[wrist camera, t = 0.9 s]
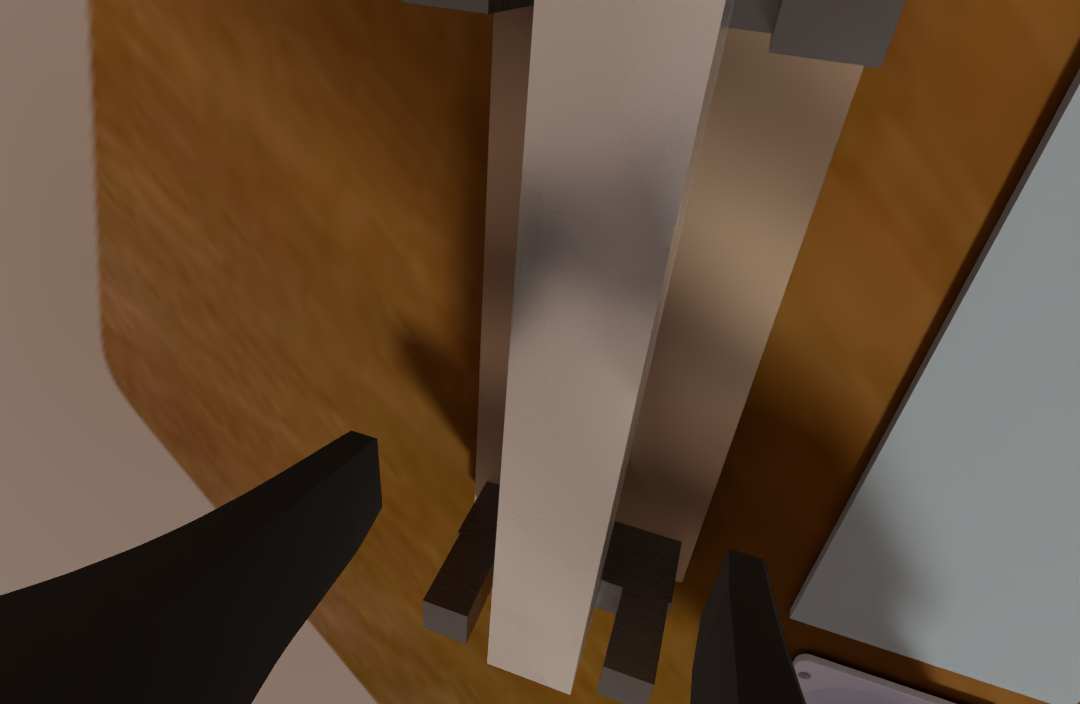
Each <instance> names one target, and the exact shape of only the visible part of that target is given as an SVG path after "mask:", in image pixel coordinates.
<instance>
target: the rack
mask: <svg viewBox="0 0 1080 704" xmlns="http://www.w3.org/2000/svg"><path fill="white" fill-rule="evenodd" d="M402 2H403V3H411V4H418V5H425V6H433V7H440V8H447V9H454V10H462V11H469V12H476V13H483V14H491V13H494V15H493V41H492V66H491V92H490V118H489V143H488V169H487V194H486V220H485V246H484V271H483V297H482V323H481V348H480V374H479V399H478V425H477V451H476V476H475V502H474V505H473V506H472V508H471V510H470V512H469V513H468V515H467V517H466V519H465V521H464V522H463V524H462V526H461V528H460V529H459V531H458V538H457V540H456V542H455V544H454V545H453V547H452V549H451V551H450V553H449V554H448V556H447V558H446V560H445V562H444V563H443V565H442V567H441V569H440V571H439V572H438V574H437V576H436V578H435V580H434V581H433V583H432V585H431V587H430V589H429V590H428V592H427V594H426V596H425V598H424V599H423V619H424V628H425V629H428V630H430V631H433V632H436V633H438V634H441V635H444V636H446V637H449V638H452V639H454V640H457V641H460V642H462V643H465V644H466V643H467V641H468V639H469V637H470V635H471V632H472V630H473V628H474V626H475V624H476V622H477V619H478V617H479V615H480V613H481V611H482V608H483V606H484V604H485V602H486V600H487V598H488V595H489V593H490V591H491V589H492V587H493V574H494V560H495V546H496V532H497V518H498V504H499V490H500V476H501V462H502V448H503V434H504V420H505V406H506V392H507V378H508V364H509V350H510V336H511V321H512V307H513V293H514V279H515V265H516V251H517V237H518V223H519V209H520V195H521V181H522V167H523V153H524V139H525V125H526V111H527V97H528V82H529V68H530V54H531V40H532V26H533V12H534V0H402ZM904 3H905V0H735V3H734V7H733V12H732V16H731V20H730V25H729V29H728V33H727V38H726V42H725V46H724V51H723V55H722V59H721V64H720V68H719V72H718V76H717V81H716V85H715V89H714V94H713V98H712V102H711V107H710V111H709V115H708V120H707V124H706V128H705V133H704V137H703V141H702V146H701V150H700V154H699V159H698V163H697V167H696V172H695V176H694V180H693V185H692V189H691V193H690V198H689V202H688V206H687V211H686V215H685V219H684V224H683V228H682V232H681V236H680V241H679V245H678V249H677V254H676V258H675V262H674V267H673V271H672V275H671V280H670V284H669V288H668V293H667V297H666V301H665V306H664V310H663V314H662V319H661V323H660V327H659V332H658V336H657V340H656V345H655V349H654V353H653V358H652V362H651V366H650V371H649V375H648V379H647V384H646V388H645V392H644V396H643V401H642V405H641V409H640V414H639V418H638V422H637V427H636V431H635V435H634V440H633V444H632V448H631V453H630V457H629V461H628V466H627V470H626V474H625V479H624V483H623V487H622V492H621V496H620V500H619V505H618V509H617V513H616V518H615V522H614V526H613V531H612V535H611V539H610V544H609V548H608V552H607V557H606V561H605V565H604V569H603V574H602V578H601V582H600V587H599V591H598V595H597V600H596V604H595V607H597V608H599V609H602V610H605V611H608V612H611V613H614V614H616V616H615V620H614V624H613V628H612V632H611V636H610V640H609V644H608V648H607V652H606V656H605V660H604V664H603V668H602V672H601V676H600V680H599V684H598V688H597V692H596V693H598V694H601V695H603V696H606V697H609V698H611V699H614V700H617V701H619V702H622V703H625V704H647V703H648V700H649V698H650V695H651V692H652V689H653V687H654V683H655V677H656V671H657V666H658V660H659V654H660V648H661V643H662V637H663V631H664V625H665V620H666V618H667V615H668V612H669V609H670V606H671V603H672V597H673V591H674V585H675V581H677V582H680V583H682V581H683V578H684V575H685V573H686V570H687V567H688V564H689V561H690V558H691V556H692V553H693V550H694V547H695V544H696V541H697V539H698V536H699V533H700V530H701V527H702V524H703V522H704V519H705V516H706V513H707V510H708V507H709V505H710V502H711V499H712V496H713V493H714V490H715V488H716V485H717V482H718V479H719V476H720V473H721V471H722V468H723V465H724V462H725V459H726V456H727V454H728V451H729V448H730V445H731V442H732V439H733V436H734V434H735V431H736V428H737V425H738V422H739V419H740V417H741V414H742V411H743V408H744V405H745V402H746V400H747V397H748V394H749V391H750V388H751V385H752V383H753V380H754V377H755V374H756V371H757V368H758V366H759V363H760V360H761V357H762V354H763V351H764V349H765V346H766V343H767V340H768V337H769V334H770V332H771V329H772V326H773V323H774V320H775V317H776V315H777V312H778V309H779V306H780V303H781V300H782V298H783V295H784V292H785V289H786V286H787V283H788V281H789V278H790V275H791V272H792V269H793V266H794V263H795V261H796V258H797V255H798V252H799V249H800V246H801V244H802V241H803V238H804V235H805V232H806V229H807V227H808V224H809V221H810V218H811V215H812V212H813V210H814V207H815V204H816V201H817V198H818V195H819V193H820V190H821V187H822V184H823V181H824V178H825V176H826V173H827V170H828V167H829V164H830V161H831V159H832V156H833V153H834V150H835V147H836V144H837V142H838V139H839V136H840V133H841V130H842V127H843V125H844V122H845V119H846V116H847V113H848V110H849V107H850V105H851V102H852V99H853V96H854V93H855V90H856V88H857V85H858V82H859V79H860V76H861V73H862V71H863V68H864V66H869V67H877V68H881V66H882V63H883V60H884V58H885V55H886V52H887V49H888V47H889V44H890V41H891V38H892V36H893V33H894V30H895V28H896V25H897V22H898V19H899V17H900V14H901V11H902V8H903V6H904Z"/></svg>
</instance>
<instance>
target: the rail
mask: <svg viewBox="0 0 1080 704" xmlns="http://www.w3.org/2000/svg"><path fill="white" fill-rule="evenodd" d="M734 3H735V0H534V12H533V26H532V40H531V54H530V68H529V82H528V97H527V111H526V125H525V139H524V153H523V167H522V181H521V195H520V209H519V223H518V237H517V251H516V265H515V279H514V293H513V307H512V321H511V336H510V350H509V364H508V378H507V392H506V406H505V420H504V434H503V448H502V462H501V476H500V490H499V504H498V518H497V532H496V546H495V560H494V574H493V589H492V603H491V617H490V631H489V645H488V659H487V663H488V664H490V665H493V666H496V667H498V668H501V669H504V670H506V671H509V672H511V673H514V674H517V675H519V676H522V677H525V678H527V679H530V680H532V681H535V682H538V683H540V684H543V685H546V686H548V687H551V688H553V689H556V690H559V691H561V692H564V693H567V694H569V695H570V694H571V691H572V687H573V684H574V680H575V677H576V673H577V670H578V666H579V663H580V659H581V656H582V652H583V649H584V645H585V642H586V638H587V635H588V631H589V628H590V624H591V621H592V617H593V613H594V608H595V604H596V600H597V595H598V591H599V587H600V582H601V578H602V574H603V569H604V565H605V561H606V557H607V552H608V548H609V544H610V539H611V535H612V531H613V526H614V522H615V518H616V513H617V509H618V505H619V500H620V496H621V492H622V487H623V483H624V479H625V474H626V470H627V466H628V461H629V457H630V453H631V448H632V444H633V440H634V435H635V431H636V427H637V422H638V418H639V414H640V409H641V405H642V401H643V396H644V392H645V388H646V384H647V379H648V375H649V371H650V366H651V362H652V358H653V353H654V349H655V345H656V340H657V336H658V332H659V327H660V323H661V319H662V314H663V310H664V306H665V301H666V297H667V293H668V288H669V284H670V280H671V275H672V271H673V267H674V262H675V258H676V254H677V249H678V245H679V241H680V236H681V232H682V228H683V224H684V219H685V215H686V211H687V206H688V202H689V198H690V193H691V189H692V185H693V180H694V176H695V172H696V167H697V163H698V159H699V154H700V150H701V146H702V141H703V137H704V133H705V128H706V124H707V120H708V115H709V111H710V107H711V102H712V98H713V94H714V89H715V85H716V81H717V76H718V72H719V68H720V64H721V59H722V55H723V51H724V46H725V42H726V38H727V33H728V29H729V25H730V20H731V16H732V12H733V7H734Z"/></svg>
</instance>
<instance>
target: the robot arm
mask: <svg viewBox="0 0 1080 704" xmlns="http://www.w3.org/2000/svg"><path fill="white" fill-rule="evenodd" d="M381 508H382V496H381V483H380V470H379V457H378V444H377V439H376V438H373V437H370V436H367V435H364V434H360V433H357V432H354V431H350V432H348V433H346V434H345V435H343V436H341V437H340V438H338V439H336V440H334V441H333V442H331V443H329V444H328V445H326V446H325V447H323V448H321V449H320V450H318V451H316V452H315V453H313V454H311V455H310V456H308V457H306V458H305V459H303V460H301V461H300V462H298V463H297V464H295V465H293V466H292V467H290V468H288V469H287V470H285V471H283V472H281V473H280V474H278V475H276V476H275V477H273V478H271V479H269V480H268V481H266V482H264V483H263V484H261V485H259V486H257V487H256V488H254V489H252V490H250V491H249V492H247V493H245V494H243V495H242V496H240V497H238V498H236V499H234V500H232V501H230V502H228V503H227V504H225V505H223V506H221V507H219V508H217V509H215V510H213V511H212V512H210V513H208V514H206V515H204V516H202V517H200V518H198V519H196V520H194V521H192V522H190V523H188V524H186V525H184V526H182V527H180V528H178V529H175V530H173V531H171V532H169V533H167V534H164V535H162V536H160V537H158V538H156V539H153V540H151V541H149V542H147V543H144V544H142V545H140V546H137V547H135V548H132V549H130V550H127V551H125V552H122V553H120V554H117V555H115V556H112V557H109V558H107V559H104V560H102V561H99V562H97V563H94V564H91V565H89V566H86V567H84V568H81V569H78V570H76V571H73V572H70V573H68V574H65V575H62V576H59V577H56V578H53V579H50V580H47V581H44V582H41V583H38V584H35V585H32V586H29V587H26V588H23V589H20V590H16V591H13V592H10V593H8V594H4V595H0V704H251V703H252V702H253V700H254V698H255V696H256V695H257V693H258V692H259V690H260V688H261V687H262V685H263V683H264V682H265V680H266V678H267V677H268V675H269V673H270V672H271V670H272V669H273V667H274V665H275V664H276V662H277V660H278V659H279V658H280V656H281V655H282V653H283V652H284V650H285V649H286V647H287V646H288V644H289V643H290V642H291V640H292V639H293V637H294V636H295V635H296V633H297V632H298V631H299V629H300V628H301V627H302V625H303V624H304V623H305V621H306V620H307V619H308V617H309V616H310V615H311V613H312V612H313V610H314V609H315V608H316V606H317V605H318V604H319V602H320V601H321V600H322V598H323V597H324V596H325V594H326V593H327V592H328V590H329V589H330V588H331V586H332V585H333V583H334V582H335V581H336V579H337V578H338V577H339V575H340V574H341V573H342V571H343V570H344V568H345V567H346V566H347V564H348V563H349V562H350V560H351V559H352V557H353V556H354V555H355V553H356V552H357V550H358V549H359V547H360V545H361V544H362V542H363V540H364V539H365V537H366V535H367V533H368V532H369V530H370V528H371V526H372V524H373V523H374V521H375V519H376V517H377V515H378V513H379V512H380V510H381ZM690 704H956V703H953V702H950V701H947V700H944V699H942V698H939V697H936V696H933V695H930V694H927V693H924V692H921V691H918V690H915V689H912V688H909V687H906V686H903V685H900V684H897V683H894V682H891V681H888V680H885V679H882V678H879V677H876V676H873V675H870V674H867V673H864V672H861V671H858V670H855V669H852V668H849V667H846V666H843V665H840V664H837V663H834V662H831V661H829V660H826V659H823V658H820V657H817V656H814V655H810V654H800V655H798V656H797V657H796V658H795V659H794V661H793V663H792V660H791V657H790V654H789V650H788V647H787V644H786V641H785V637H784V634H783V630H782V627H781V623H780V619H779V616H778V612H777V608H776V604H775V600H774V596H773V592H772V588H771V583H770V579H769V574H768V569H767V565H766V564H765V562H764V561H763V560H762V559H759V558H756V557H753V556H750V555H746V554H743V553H740V552H737V551H734V550H731V549H728V552H727V554H726V556H725V559H724V561H723V564H722V566H721V569H720V571H719V573H718V576H717V578H716V581H715V583H714V586H713V588H712V590H711V593H710V595H709V598H708V600H707V603H706V605H705V607H704V610H703V612H702V615H701V621H700V627H699V632H698V638H697V644H696V650H695V657H694V663H693V669H692V684H691V701H690Z"/></svg>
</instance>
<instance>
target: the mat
mask: <svg viewBox="0 0 1080 704" xmlns="http://www.w3.org/2000/svg"><path fill="white" fill-rule="evenodd" d="M790 619H793V620H796V621H799V622H802V623H805V624H808V625H812V626H815V627H818V628H821V629H824V630H827V631H830V632H833V633H836V634H839V635H842V636H845V637H848V638H851V639H854V640H857V641H861V642H864V643H867V644H870V645H873V646H876V647H879V648H882V649H885V650H888V651H891V652H894V653H897V654H900V655H903V656H906V657H910V658H913V659H916V660H919V661H922V662H925V663H928V664H931V665H934V666H937V667H940V668H943V669H946V670H949V671H952V672H955V673H959V674H962V675H965V676H968V677H971V678H974V679H977V680H980V681H983V682H986V683H989V684H992V685H995V686H998V687H1001V688H1004V689H1008V690H1011V691H1014V692H1017V693H1020V694H1023V695H1026V696H1029V697H1032V698H1035V699H1038V700H1041V701H1044V702H1047V703H1050V704H1077V703H1078V702H1079V701H1080V68H1079V70H1078V72H1077V74H1076V76H1075V78H1074V80H1073V82H1072V83H1071V85H1070V87H1069V89H1068V91H1067V93H1066V95H1065V97H1064V98H1063V100H1062V102H1061V104H1060V106H1059V108H1058V110H1057V111H1056V113H1055V115H1054V117H1053V119H1052V121H1051V123H1050V125H1049V126H1048V128H1047V130H1046V132H1045V134H1044V136H1043V138H1042V140H1041V141H1040V143H1039V145H1038V147H1037V149H1036V151H1035V153H1034V154H1033V156H1032V158H1031V160H1030V162H1029V164H1028V166H1027V168H1026V169H1025V171H1024V173H1023V175H1022V177H1021V179H1020V181H1019V183H1018V184H1017V186H1016V188H1015V190H1014V192H1013V194H1012V196H1011V197H1010V199H1009V201H1008V203H1007V205H1006V207H1005V209H1004V211H1003V212H1002V214H1001V216H1000V218H999V220H998V222H997V224H996V226H995V227H994V229H993V231H992V233H991V235H990V237H989V239H988V240H987V242H986V244H985V246H984V248H983V250H982V252H981V254H980V255H979V257H978V259H977V261H976V263H975V265H974V267H973V269H972V270H971V272H970V274H969V276H968V278H967V280H966V282H965V283H964V285H963V287H962V289H961V291H960V293H959V295H958V297H957V298H956V300H955V302H954V304H953V306H952V308H951V310H950V312H949V313H948V315H947V317H946V319H945V321H944V323H943V325H942V326H941V328H940V330H939V332H938V334H937V336H936V338H935V340H934V341H933V343H932V345H931V347H930V349H929V351H928V353H927V355H926V356H925V358H924V360H923V362H922V364H921V366H920V368H919V369H918V371H917V373H916V375H915V377H914V379H913V381H912V383H911V384H910V386H909V388H908V390H907V392H906V394H905V396H904V397H903V399H902V401H901V403H900V405H899V407H898V409H897V411H896V412H895V414H894V416H893V418H892V420H891V422H890V424H889V426H888V427H887V429H886V431H885V433H884V435H883V437H882V439H881V440H880V442H879V444H878V446H877V448H876V450H875V452H874V454H873V455H872V457H871V459H870V461H869V463H868V465H867V467H866V469H865V470H864V472H863V474H862V476H861V478H860V480H859V482H858V483H857V485H856V487H855V489H854V491H853V493H852V495H851V497H850V498H849V500H848V502H847V504H846V506H845V508H844V510H843V512H842V513H841V515H840V517H839V519H838V521H837V523H836V525H835V526H834V528H833V530H832V532H831V534H830V536H829V538H828V540H827V541H826V543H825V545H824V547H823V549H822V551H821V553H820V555H819V556H818V558H817V560H816V562H815V564H814V566H813V568H812V569H811V571H810V573H809V575H808V577H807V579H806V581H805V583H804V584H803V586H802V588H801V590H800V592H799V594H798V596H797V598H796V599H795V601H794V603H793V605H792V607H791V609H790Z"/></svg>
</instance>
